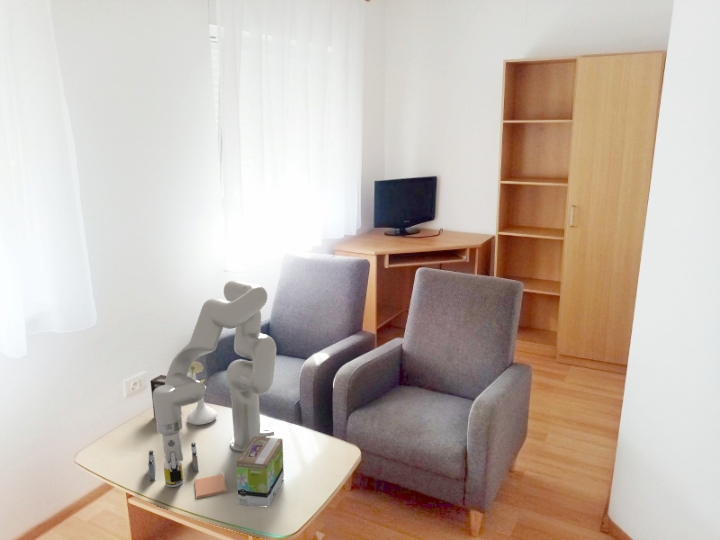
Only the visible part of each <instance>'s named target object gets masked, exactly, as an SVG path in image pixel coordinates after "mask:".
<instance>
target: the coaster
mask: <svg viewBox="0 0 720 540" xmlns="http://www.w3.org/2000/svg"><path fill="white" fill-rule="evenodd" d="M194 486H195V487H194V488H195V497H196V498H195V499H200V498H201V499H202V498H206V497H210V496H215V495H219V494H223V493H227V487H226V480H225V475H224V473H221V474H216V475H212V476H207V477H202V478H197V479H194Z"/></svg>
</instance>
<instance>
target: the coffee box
mask: <svg viewBox="0 0 720 540" xmlns="http://www.w3.org/2000/svg"><path fill="white" fill-rule="evenodd" d="M166 376H167V375H164V374H163V375H162V374H160V375H158V376H156V377H153V378H152V379H151V380H150V390H151V398H152V399H151V400H152V408H153V417H154V418H155V419H156V417H155V409H154V402H153V391H154V390H155V389H156V388H157V387H159V386H162V385H165V380H166ZM180 408H181V416H182V415H183V412H182V407H180Z"/></svg>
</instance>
